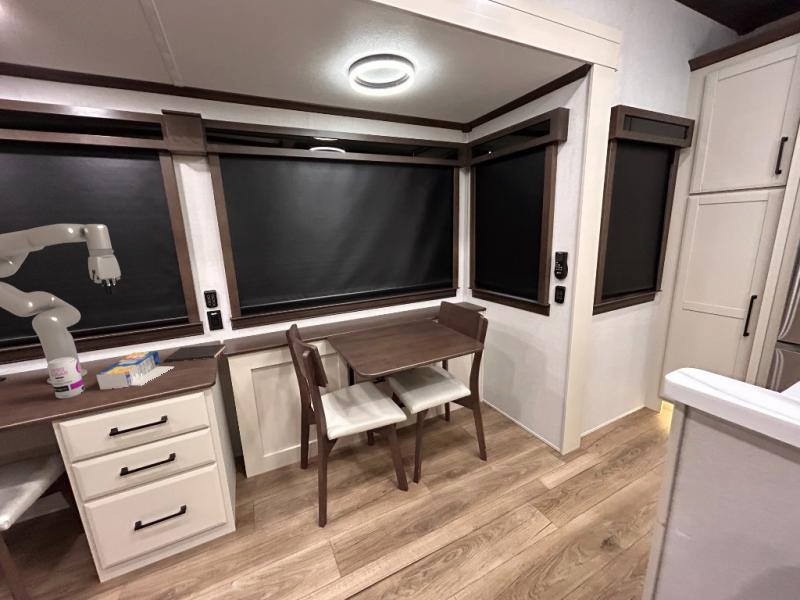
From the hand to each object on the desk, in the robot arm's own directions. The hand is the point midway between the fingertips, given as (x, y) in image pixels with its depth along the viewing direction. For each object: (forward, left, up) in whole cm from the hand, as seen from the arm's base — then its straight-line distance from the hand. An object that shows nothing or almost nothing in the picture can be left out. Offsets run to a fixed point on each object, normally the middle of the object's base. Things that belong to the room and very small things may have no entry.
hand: (111, 294), depth 140 cm
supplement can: (-4, -22, -37) cm, 43 cm away
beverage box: (+10, -17, -34) cm, 39 cm away
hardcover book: (+20, +19, -38) cm, 47 cm away
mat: (+11, -6, -37) cm, 39 cm away
